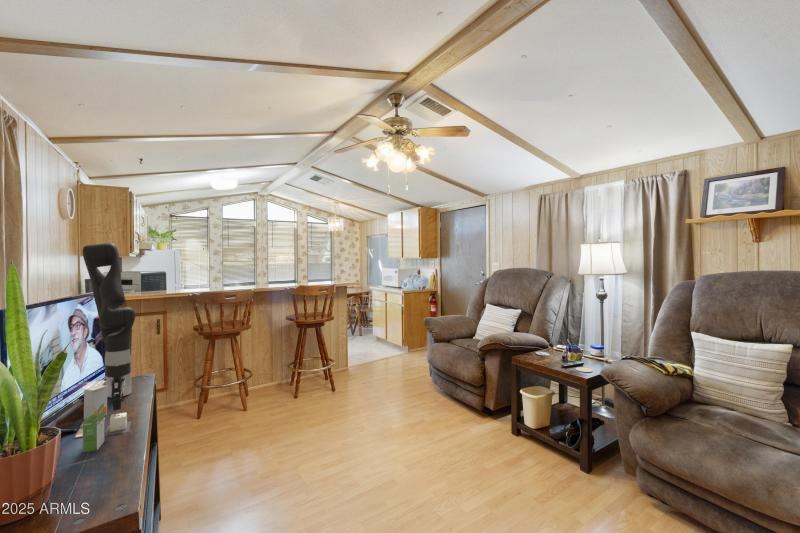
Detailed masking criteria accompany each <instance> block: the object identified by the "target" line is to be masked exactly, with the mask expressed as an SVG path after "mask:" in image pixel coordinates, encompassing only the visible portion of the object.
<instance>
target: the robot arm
mask: <svg viewBox="0 0 800 533" xmlns="http://www.w3.org/2000/svg"><path fill="white" fill-rule="evenodd" d="M82 257H83V261H84V264H85V266H86V271H87V273H88V276H89V280H90V283H91V288H92V296H93V299H94V303H95V307H96V310H97V313H98V317H99V319H98V321H99V325H100V326H99V327H100V333H101V334H100V335H101V340H102V341H103V342H104V343H105V355H104V376H105V377H106V378H105V379H106V380H105V381H106V382H105V384H106V385H105V386H107V399H108V398H110V400H111V401H112V411H119V410H121V409H122V402H123V401H124V397H125V396H128V395H130V394H131V393H132V339H133V338H132V337H133V326H134V323H135V321H136V311H135V310H134V309H133V308H132V307H129V306H125V307H122V306H124V304H125V303H126V297H125V293H124V289H123V285H122V284H123V283H122V269H121V261H120V253H119V250H118V247H117V245H116V244H115V243H113V242H105V243H94V244H87V245H84V246H83V248H82ZM108 266H110V268H109V271H108V272H107V274H106V275H104V273H102V272H101V271H100V270H99V268H101V267H108Z"/></svg>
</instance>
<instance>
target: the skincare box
mask: <svg viewBox="0 0 800 533" xmlns="http://www.w3.org/2000/svg"><path fill="white" fill-rule="evenodd" d="M103 403H104V417H105V416H107V415H108V397H107V386H106V385H103V384H97V385H95V386H92V387H90V388H87V389H84V390H83V421H85V420H86V419H87V418H88V417H89V416H90V415H93V414H97V409H98V408H99V407H100V406H101V405H102V404H103ZM101 411H102V408H101V409H100V411H99V413H100V412H101Z"/></svg>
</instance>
